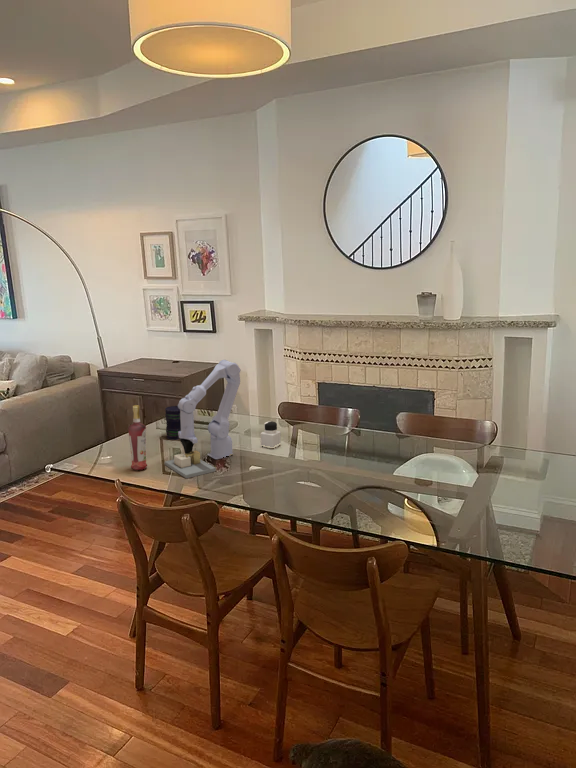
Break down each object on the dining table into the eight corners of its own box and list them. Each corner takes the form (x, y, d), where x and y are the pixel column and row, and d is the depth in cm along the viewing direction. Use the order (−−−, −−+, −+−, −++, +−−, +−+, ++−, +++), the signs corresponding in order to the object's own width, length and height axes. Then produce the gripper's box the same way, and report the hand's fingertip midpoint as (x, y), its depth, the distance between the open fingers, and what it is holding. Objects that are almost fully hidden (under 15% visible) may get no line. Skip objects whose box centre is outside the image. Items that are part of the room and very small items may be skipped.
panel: (193, 458, 268) (193, 455, 267) (215, 471, 252) (215, 467, 252) (164, 464, 260) (164, 461, 259) (186, 478, 244) (186, 475, 244)
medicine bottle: (280, 445, 286) (280, 421, 283) (272, 449, 280) (272, 425, 277) (268, 443, 289) (268, 419, 287) (260, 447, 284) (260, 423, 281)
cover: (183, 461, 260) (182, 452, 259) (190, 465, 254) (190, 456, 253) (174, 463, 257) (173, 454, 256) (181, 467, 252) (181, 458, 251)
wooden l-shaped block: (196, 460, 260) (196, 450, 259) (200, 463, 257) (200, 452, 256) (184, 463, 256) (184, 453, 255) (188, 465, 254) (187, 455, 253)
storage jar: (184, 440, 293) (183, 411, 290) (164, 439, 293) (163, 410, 290) (187, 434, 303) (186, 405, 300) (168, 433, 303) (167, 405, 300)
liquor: (143, 472, 250) (140, 408, 244) (127, 471, 252) (123, 407, 246) (150, 466, 257) (147, 404, 251) (135, 465, 259) (131, 403, 253)
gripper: (171, 423, 263) (172, 452, 266) (186, 430, 251) (187, 461, 254) (185, 420, 267) (186, 449, 270) (201, 428, 255) (202, 457, 258)
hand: (188, 454), depth 262 cm, fingers closed
